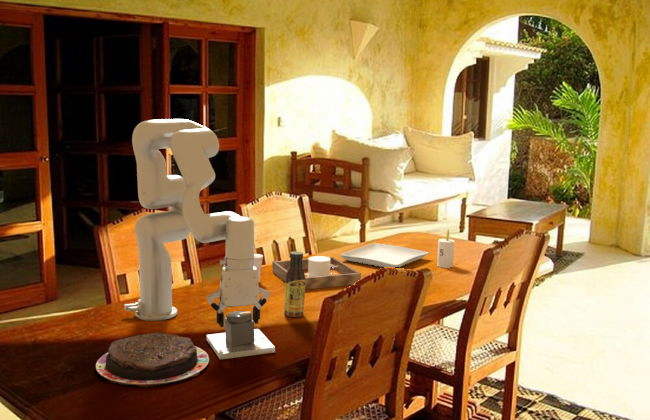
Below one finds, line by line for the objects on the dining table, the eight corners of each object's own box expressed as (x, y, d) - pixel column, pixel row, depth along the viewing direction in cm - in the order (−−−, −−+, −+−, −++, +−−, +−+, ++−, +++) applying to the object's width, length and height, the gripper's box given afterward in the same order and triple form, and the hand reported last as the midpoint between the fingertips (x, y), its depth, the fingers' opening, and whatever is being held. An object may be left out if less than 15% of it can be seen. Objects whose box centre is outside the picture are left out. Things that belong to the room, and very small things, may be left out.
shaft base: (219, 359, 183) (219, 333, 181) (206, 340, 196) (206, 315, 195) (274, 352, 188) (275, 327, 187) (258, 333, 202) (258, 310, 201)
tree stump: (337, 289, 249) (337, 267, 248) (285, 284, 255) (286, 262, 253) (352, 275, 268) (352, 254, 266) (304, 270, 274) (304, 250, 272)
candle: (433, 266, 283) (435, 229, 280) (442, 263, 288) (444, 227, 285) (447, 269, 279) (449, 231, 276) (456, 266, 284) (458, 229, 281)
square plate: (374, 250, 309) (374, 241, 309) (429, 260, 294) (430, 251, 293) (338, 262, 288) (338, 252, 287) (396, 273, 272) (396, 263, 271)
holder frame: (295, 290, 245) (295, 279, 245) (272, 271, 269) (272, 261, 268) (360, 284, 255) (360, 273, 254) (332, 266, 279) (332, 256, 278)
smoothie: (242, 282, 253) (242, 244, 251) (250, 278, 259) (250, 241, 257) (257, 285, 251) (258, 246, 249) (266, 280, 257) (266, 243, 254)
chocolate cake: (227, 373, 175) (227, 348, 174) (114, 399, 160) (113, 371, 159) (184, 339, 198) (184, 316, 197) (82, 358, 183) (81, 334, 182)
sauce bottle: (289, 319, 215) (289, 256, 211) (280, 313, 220) (281, 251, 217) (308, 316, 218) (309, 254, 214) (299, 310, 223) (300, 249, 220)
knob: (231, 346, 188) (229, 319, 186) (224, 338, 194) (223, 311, 192) (255, 342, 190) (254, 315, 189) (248, 334, 196) (247, 308, 195)
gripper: (210, 269, 182) (210, 331, 185) (274, 264, 188) (272, 325, 192) (204, 261, 188) (203, 322, 192) (266, 257, 195) (264, 316, 198)
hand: (238, 323), depth 192 cm, fingers open, 9 cm apart
